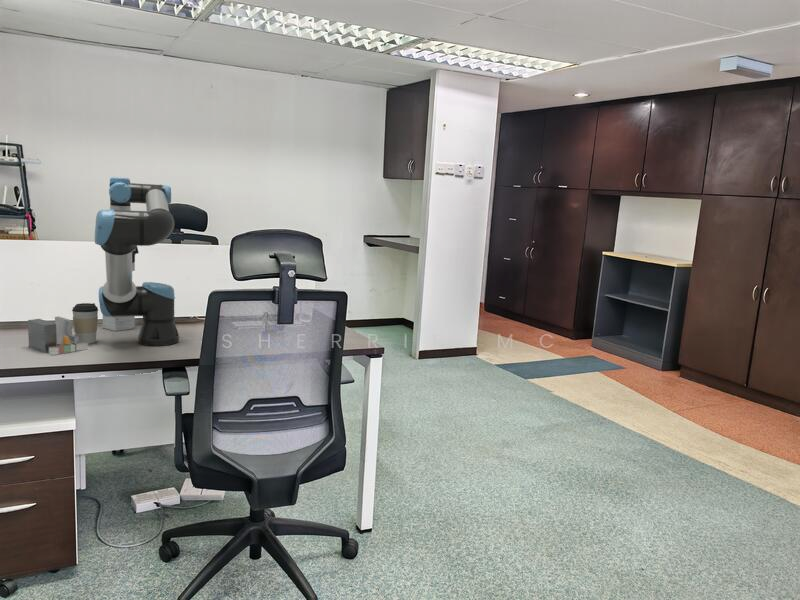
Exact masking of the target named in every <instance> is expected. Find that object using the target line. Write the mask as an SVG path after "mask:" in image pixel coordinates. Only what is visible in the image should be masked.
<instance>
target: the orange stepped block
mask: <svg viewBox="0 0 800 600" xmlns="http://www.w3.org/2000/svg"><path fill="white" fill-rule="evenodd" d="M62 339H63V344H66V345H67V344H70V339H69V337H67V336H63V338H62Z"/></svg>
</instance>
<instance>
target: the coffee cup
mask: <svg viewBox="0 0 800 600" xmlns="http://www.w3.org/2000/svg"><path fill="white" fill-rule="evenodd" d="M71 311H72V322H73V328H74V330H73V331H74V335H76V336H79V342H88V345H91V344H94V343H96V341H97V340H96V339H97V331H98V320H99V319H98V318H99V316H98V315H99V307H98V306H96V303H95V302H93V303H89V302H87V303H85V302H84V303H83V302H81V303H76V304H75V305H74V306H73V307H72V310H71ZM79 342H75V343H79Z"/></svg>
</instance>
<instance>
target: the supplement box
mask: <svg viewBox="0 0 800 600" xmlns="http://www.w3.org/2000/svg"><path fill="white" fill-rule="evenodd" d="M135 317H136V316H125V317H107V316H104V315H103V314H102V328H103V329H105V330H106V329H107V330H110V331H113V332H119V331H124V330H131V329H132V330H133V329H135V328H136V327H135V323H136V322H135V321H136V320H135Z"/></svg>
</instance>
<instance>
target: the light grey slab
mask: <svg viewBox="0 0 800 600" xmlns="http://www.w3.org/2000/svg"><path fill="white" fill-rule="evenodd" d="M72 322H73V319H69V318H65V317H63V316H59V315H58V316H54V323H55V324H56V336H57V345H63V339H62V338H63V336H67V337H69V339H70V344H72V343H76V342H79V336H76V335H75V334H73V328H72V327H73V324H72Z"/></svg>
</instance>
